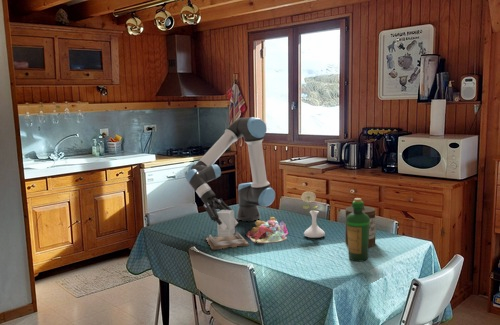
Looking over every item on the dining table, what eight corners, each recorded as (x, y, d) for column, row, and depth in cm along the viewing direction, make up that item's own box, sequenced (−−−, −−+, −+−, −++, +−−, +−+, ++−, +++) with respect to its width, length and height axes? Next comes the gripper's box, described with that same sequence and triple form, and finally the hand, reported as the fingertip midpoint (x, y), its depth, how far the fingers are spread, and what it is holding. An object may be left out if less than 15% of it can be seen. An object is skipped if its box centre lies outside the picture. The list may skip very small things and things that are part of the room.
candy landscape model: (240, 234, 265) (239, 218, 264) (277, 228, 274) (277, 213, 273) (258, 245, 242) (257, 228, 241) (298, 239, 251) (297, 222, 250)
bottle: (343, 255, 221) (343, 197, 218) (365, 254, 222) (365, 195, 219) (350, 263, 211) (349, 201, 207) (373, 261, 211) (373, 200, 208)
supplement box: (235, 233, 250) (234, 209, 248) (230, 237, 243) (229, 213, 241) (222, 232, 252) (221, 209, 251) (217, 236, 245) (216, 212, 244)
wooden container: (358, 250, 229) (358, 205, 226) (339, 242, 242) (339, 200, 239) (381, 244, 235) (381, 201, 233) (361, 238, 249) (361, 197, 246)
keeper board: (239, 236, 259) (239, 230, 259) (248, 245, 242) (248, 239, 241) (205, 240, 254) (205, 234, 254) (212, 249, 237) (211, 243, 236)
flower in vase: (327, 234, 257) (327, 189, 254) (321, 240, 246) (321, 193, 243) (304, 232, 262) (303, 188, 259) (298, 238, 252) (297, 192, 249)
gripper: (214, 194, 263) (239, 226, 256) (189, 202, 245) (214, 235, 238) (222, 186, 259) (246, 217, 252) (196, 193, 241) (222, 227, 234)
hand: (231, 226), depth 245 cm, fingers closed on supplement box, 9 cm apart
